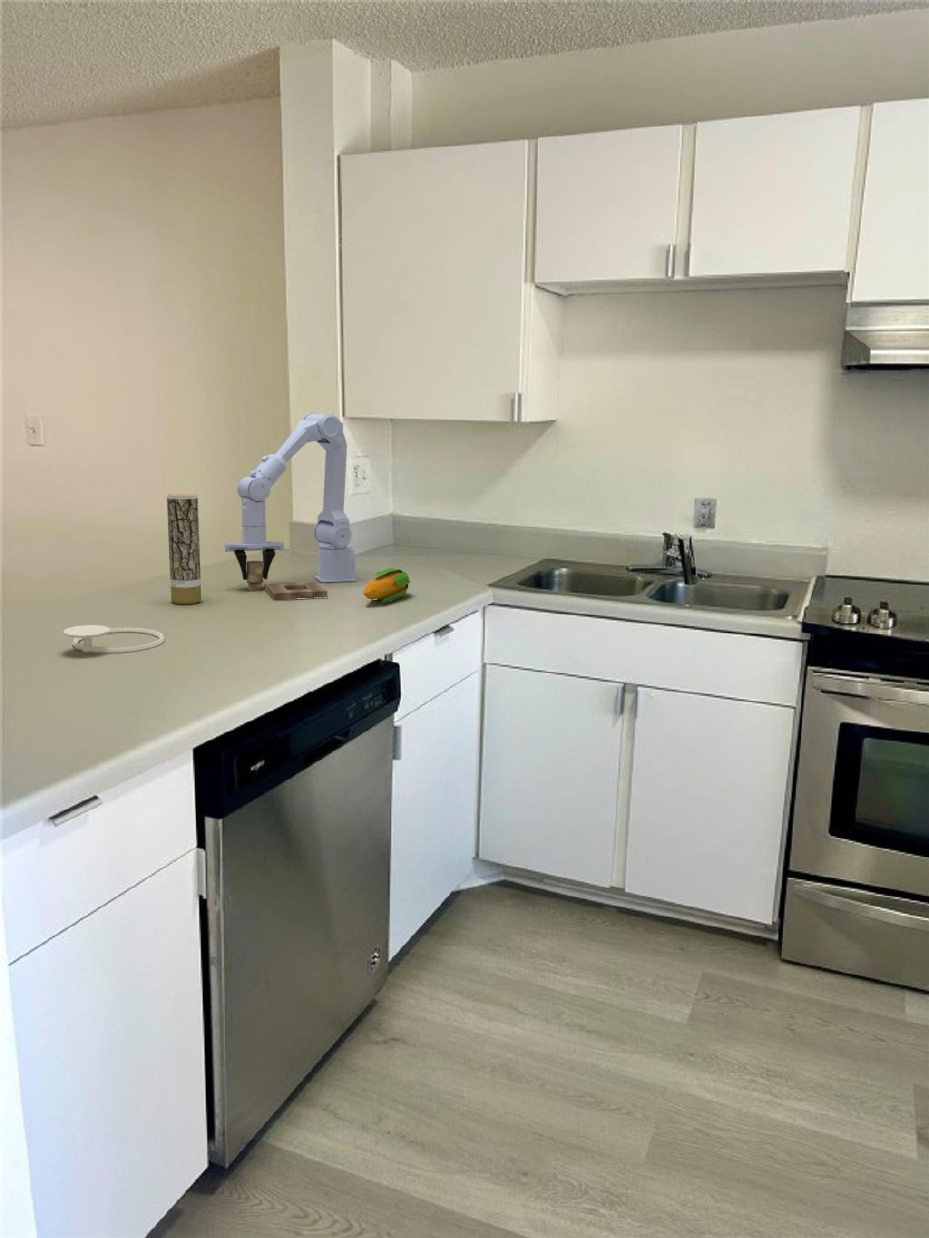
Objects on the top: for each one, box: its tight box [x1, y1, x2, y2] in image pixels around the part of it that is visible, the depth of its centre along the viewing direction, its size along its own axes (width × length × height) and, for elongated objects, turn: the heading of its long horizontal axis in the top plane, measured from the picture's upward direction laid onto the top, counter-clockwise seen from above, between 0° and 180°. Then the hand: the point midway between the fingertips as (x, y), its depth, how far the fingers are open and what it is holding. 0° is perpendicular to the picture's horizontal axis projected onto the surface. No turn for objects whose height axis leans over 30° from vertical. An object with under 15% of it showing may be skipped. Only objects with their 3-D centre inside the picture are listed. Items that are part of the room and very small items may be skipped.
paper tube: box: [166, 493, 202, 605], centre depth 212 cm, size 7×7×25 cm
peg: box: [246, 560, 264, 591], centre depth 232 cm, size 4×4×7 cm
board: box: [264, 581, 328, 601], centre depth 227 cm, size 13×12×2 cm
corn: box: [362, 567, 411, 604], centre depth 224 cm, size 7×8×20 cm
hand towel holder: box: [62, 624, 166, 654], centre depth 176 cm, size 17×4×21 cm
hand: (255, 578), depth 232 cm, fingers open, 4 cm apart
